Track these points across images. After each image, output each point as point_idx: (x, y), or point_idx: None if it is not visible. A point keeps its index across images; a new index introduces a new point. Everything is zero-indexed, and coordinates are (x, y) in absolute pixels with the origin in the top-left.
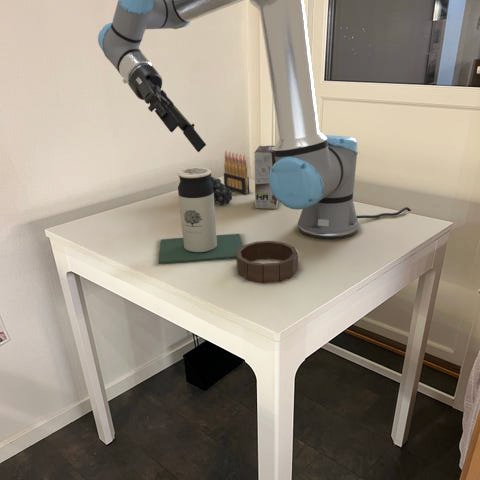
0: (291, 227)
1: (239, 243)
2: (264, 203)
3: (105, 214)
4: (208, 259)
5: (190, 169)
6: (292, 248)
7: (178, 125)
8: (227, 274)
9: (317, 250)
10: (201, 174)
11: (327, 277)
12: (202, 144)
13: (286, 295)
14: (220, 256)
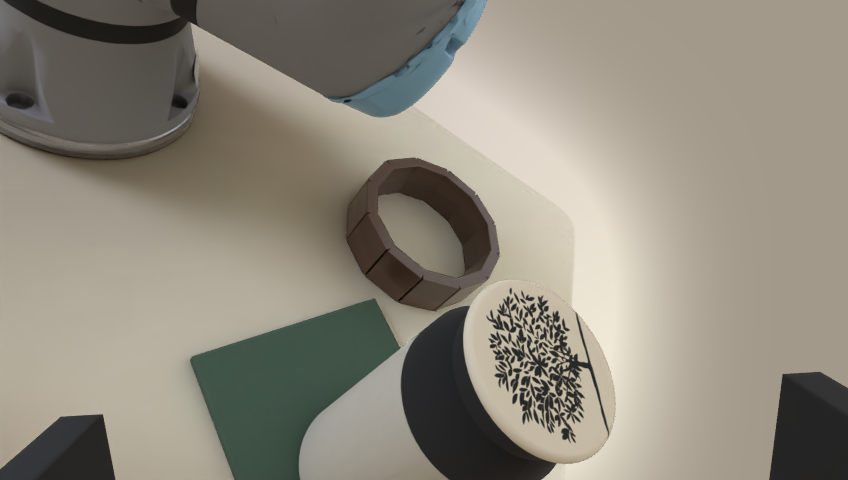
0: (62, 179)
1: (293, 333)
2: None
3: None
4: None
5: (526, 400)
6: (396, 165)
7: (781, 399)
8: None
9: (273, 133)
10: (567, 307)
11: (403, 137)
12: (99, 455)
13: (490, 206)
14: None
